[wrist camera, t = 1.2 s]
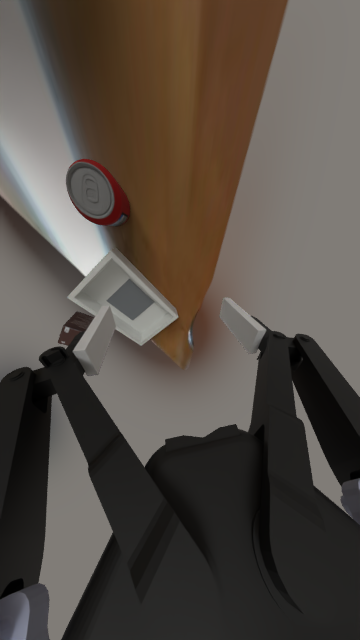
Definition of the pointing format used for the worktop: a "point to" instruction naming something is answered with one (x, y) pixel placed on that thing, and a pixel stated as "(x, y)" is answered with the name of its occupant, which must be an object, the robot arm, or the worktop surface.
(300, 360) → the robot arm
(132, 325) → the tray
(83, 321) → the box
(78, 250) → the worktop surface
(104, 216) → the beverage can
